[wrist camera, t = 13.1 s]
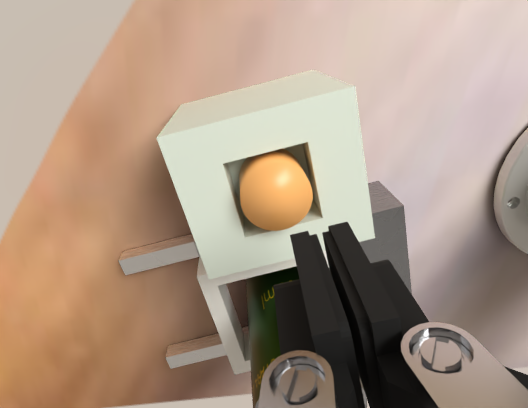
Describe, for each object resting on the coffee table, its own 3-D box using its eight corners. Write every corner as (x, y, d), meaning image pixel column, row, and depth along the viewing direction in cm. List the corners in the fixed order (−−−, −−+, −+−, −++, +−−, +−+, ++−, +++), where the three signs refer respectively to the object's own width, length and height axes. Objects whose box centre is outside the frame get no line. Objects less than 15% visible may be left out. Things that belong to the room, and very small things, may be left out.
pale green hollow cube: (313, 69, 22) (354, 85, 14) (333, 186, 25) (376, 247, 18) (181, 104, 22) (156, 137, 15) (218, 215, 25) (212, 288, 18)
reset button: (295, 139, 17) (305, 155, 15) (307, 197, 18) (318, 221, 16) (231, 155, 17) (231, 174, 15) (248, 212, 18) (250, 238, 16)
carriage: (323, 208, 24) (332, 226, 21) (346, 330, 28) (356, 356, 26) (194, 240, 24) (190, 262, 22) (238, 357, 28) (238, 385, 26)
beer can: (274, 315, 29) (299, 484, 18) (230, 270, 27) (229, 430, 16) (331, 278, 28) (396, 433, 17) (290, 229, 26) (333, 369, 15)
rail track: (378, 180, 25) (403, 205, 21) (393, 306, 30) (416, 344, 26) (120, 246, 25) (102, 281, 22) (174, 360, 30) (166, 404, 26)
